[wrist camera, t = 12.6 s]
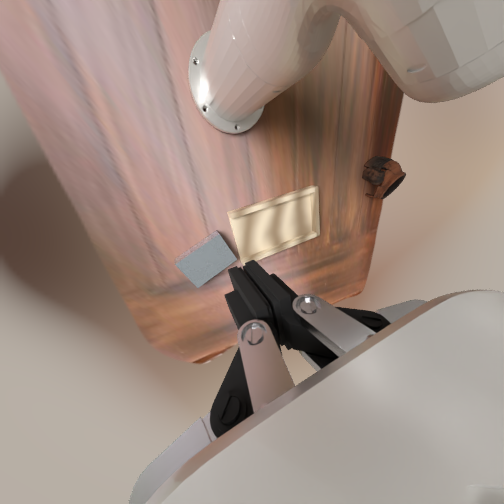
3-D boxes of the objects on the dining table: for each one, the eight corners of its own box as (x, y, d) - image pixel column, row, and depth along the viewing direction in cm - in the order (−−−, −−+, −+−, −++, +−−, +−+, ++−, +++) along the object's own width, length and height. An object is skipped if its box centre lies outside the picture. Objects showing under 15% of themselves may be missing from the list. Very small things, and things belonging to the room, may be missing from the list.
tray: (311, 185, 42) (318, 186, 41) (313, 232, 48) (319, 235, 46) (227, 212, 37) (230, 214, 35) (240, 261, 42) (244, 265, 41)
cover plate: (215, 229, 38) (219, 233, 35) (233, 254, 41) (237, 259, 39) (174, 258, 37) (175, 264, 34) (196, 280, 40) (197, 288, 38)
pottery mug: (385, 154, 49) (415, 169, 45) (361, 186, 55) (385, 202, 51) (366, 149, 42) (399, 167, 38) (340, 187, 48) (366, 205, 44)
